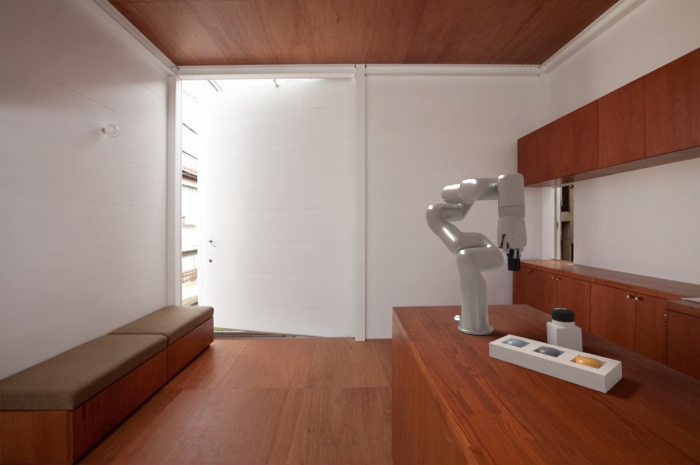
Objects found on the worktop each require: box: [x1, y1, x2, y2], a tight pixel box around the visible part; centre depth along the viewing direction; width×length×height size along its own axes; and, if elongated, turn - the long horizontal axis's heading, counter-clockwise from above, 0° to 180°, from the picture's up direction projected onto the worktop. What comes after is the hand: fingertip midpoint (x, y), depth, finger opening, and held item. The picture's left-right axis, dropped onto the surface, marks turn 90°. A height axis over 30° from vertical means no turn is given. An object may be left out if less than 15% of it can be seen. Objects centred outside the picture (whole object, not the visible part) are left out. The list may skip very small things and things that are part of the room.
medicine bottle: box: [546, 307, 583, 352], centre depth 97 cm, size 7×7×12 cm
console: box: [488, 334, 623, 394], centre depth 84 cm, size 28×12×4 cm, turn 35°
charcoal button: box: [538, 347, 560, 357], centre depth 84 cm, size 5×5×4 cm
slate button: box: [506, 339, 525, 348], centre depth 92 cm, size 5×5×4 cm
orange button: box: [576, 356, 601, 369], centre depth 77 cm, size 5×5×4 cm
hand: (514, 270), depth 97 cm, fingers closed
